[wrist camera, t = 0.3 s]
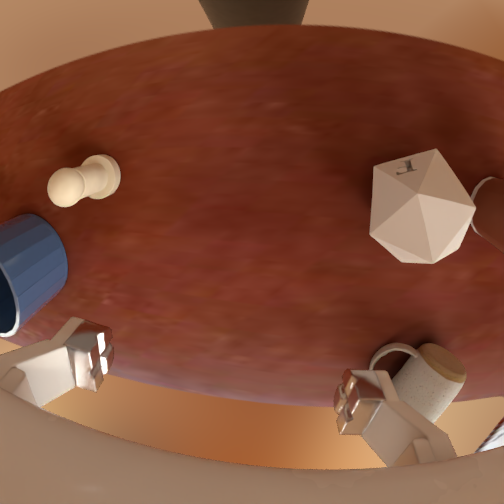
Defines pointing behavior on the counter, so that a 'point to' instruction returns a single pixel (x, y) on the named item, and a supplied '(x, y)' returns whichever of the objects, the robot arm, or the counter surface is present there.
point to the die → (419, 208)
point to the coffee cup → (489, 211)
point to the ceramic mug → (426, 377)
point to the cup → (28, 269)
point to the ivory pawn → (84, 181)
